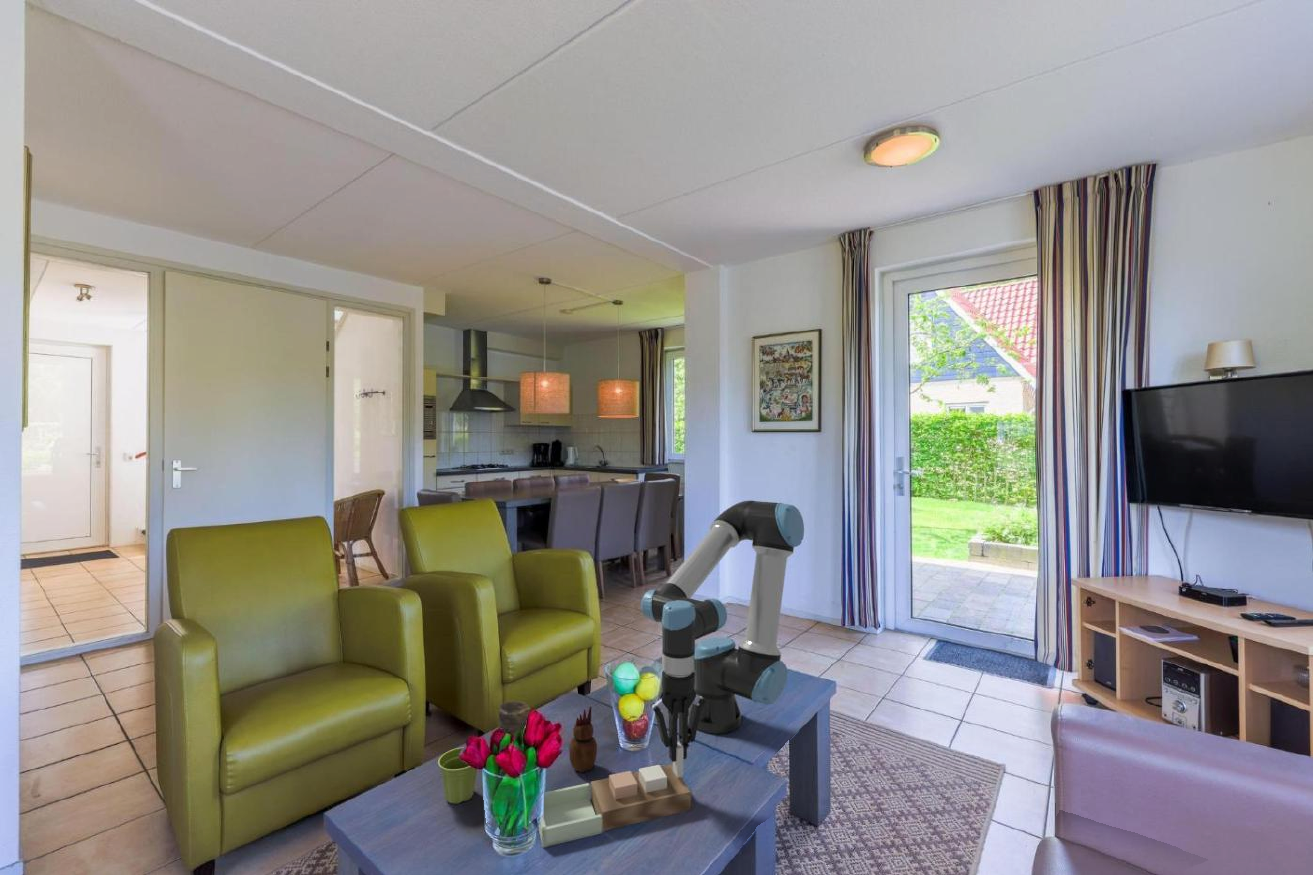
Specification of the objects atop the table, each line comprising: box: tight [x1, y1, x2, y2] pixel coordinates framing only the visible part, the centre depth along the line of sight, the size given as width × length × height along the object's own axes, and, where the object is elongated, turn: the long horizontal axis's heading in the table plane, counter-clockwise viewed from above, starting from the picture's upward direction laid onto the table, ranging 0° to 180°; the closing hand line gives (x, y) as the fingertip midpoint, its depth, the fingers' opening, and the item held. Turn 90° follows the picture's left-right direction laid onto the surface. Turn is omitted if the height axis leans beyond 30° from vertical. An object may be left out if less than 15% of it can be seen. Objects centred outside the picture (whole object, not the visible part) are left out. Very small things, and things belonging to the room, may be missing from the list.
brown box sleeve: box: [590, 763, 692, 832], centre depth 127 cm, size 20×11×4 cm, turn 110°
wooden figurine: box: [568, 706, 598, 773], centre depth 141 cm, size 7×6×15 cm
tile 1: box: [608, 770, 637, 800], centre depth 125 cm, size 5×5×2 cm
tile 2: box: [638, 764, 667, 793], centre depth 128 cm, size 5×5×2 cm
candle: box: [498, 701, 531, 735], centre depth 131 cm, size 8×7×20 cm
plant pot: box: [437, 746, 478, 804], centre depth 130 cm, size 9×9×9 cm
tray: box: [538, 782, 603, 848], centre depth 121 cm, size 12×12×4 cm
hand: (678, 773), depth 130 cm, fingers closed
